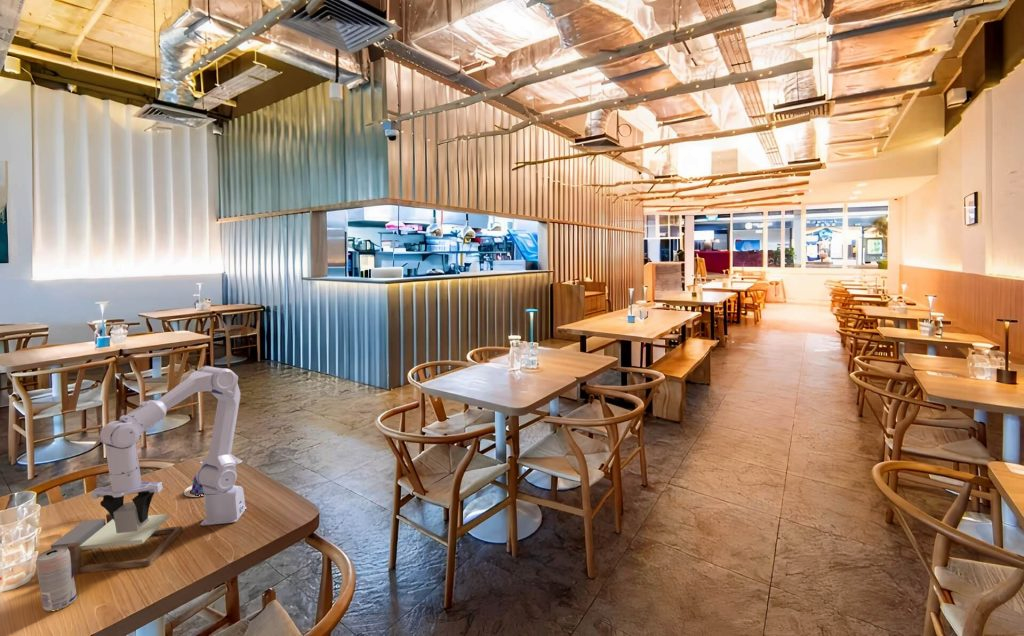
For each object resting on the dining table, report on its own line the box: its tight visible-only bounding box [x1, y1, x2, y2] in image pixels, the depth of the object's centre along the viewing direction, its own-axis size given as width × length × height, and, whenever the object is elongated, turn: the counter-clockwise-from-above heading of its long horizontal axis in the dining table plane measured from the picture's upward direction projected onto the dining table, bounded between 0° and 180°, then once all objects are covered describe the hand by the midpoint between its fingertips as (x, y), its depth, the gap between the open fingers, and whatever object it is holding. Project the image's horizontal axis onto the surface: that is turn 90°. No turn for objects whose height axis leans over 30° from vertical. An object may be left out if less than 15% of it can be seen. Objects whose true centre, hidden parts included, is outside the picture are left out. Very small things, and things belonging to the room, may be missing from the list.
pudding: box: [183, 474, 204, 498], centre depth 155 cm, size 12×12×5 cm
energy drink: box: [35, 546, 78, 612], centre depth 104 cm, size 5×5×12 cm
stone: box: [114, 501, 149, 533], centre depth 117 cm, size 5×5×5 cm
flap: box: [50, 513, 170, 551], centre depth 122 cm, size 20×12×2 cm, turn 99°
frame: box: [66, 512, 183, 575], centre depth 122 cm, size 24×16×7 cm
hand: (132, 521), depth 118 cm, fingers closed on stone, 5 cm apart
